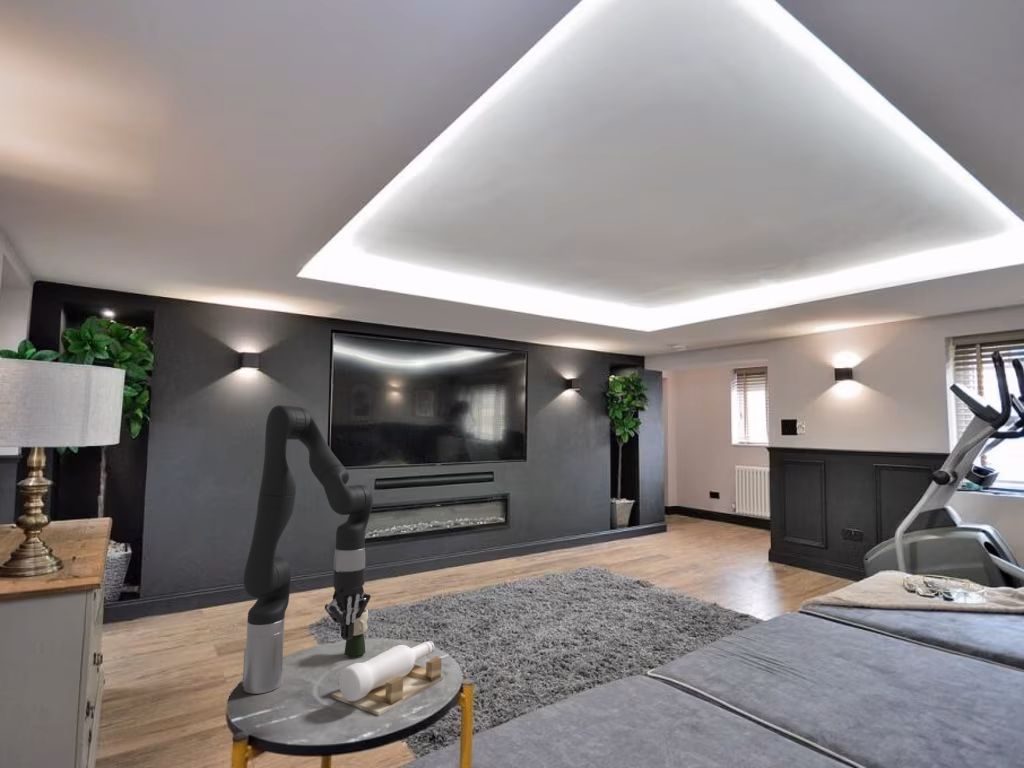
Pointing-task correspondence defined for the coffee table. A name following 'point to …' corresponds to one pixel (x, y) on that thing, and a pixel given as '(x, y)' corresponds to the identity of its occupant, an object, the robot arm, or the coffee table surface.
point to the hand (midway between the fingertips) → (347, 638)
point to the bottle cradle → (398, 688)
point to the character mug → (357, 636)
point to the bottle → (380, 669)
